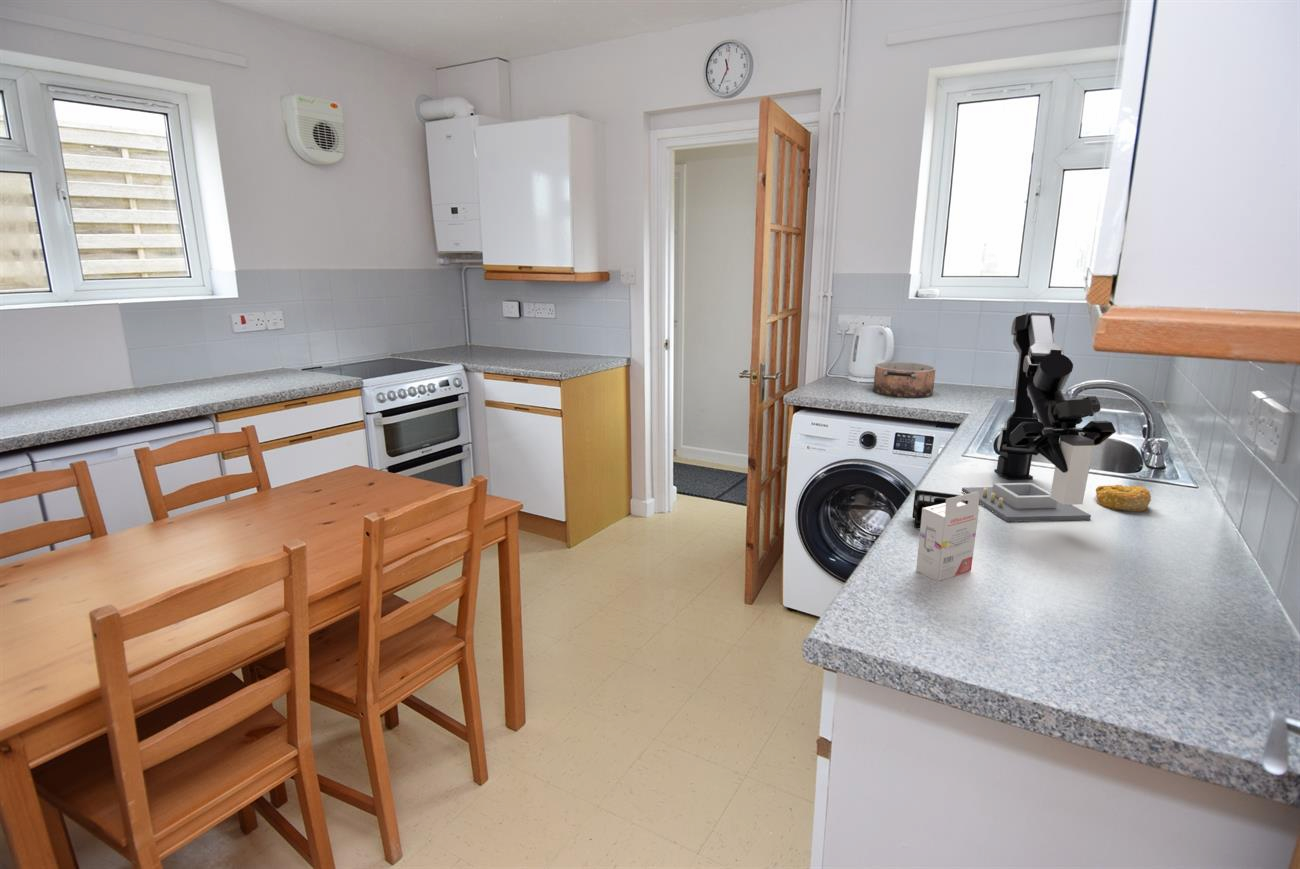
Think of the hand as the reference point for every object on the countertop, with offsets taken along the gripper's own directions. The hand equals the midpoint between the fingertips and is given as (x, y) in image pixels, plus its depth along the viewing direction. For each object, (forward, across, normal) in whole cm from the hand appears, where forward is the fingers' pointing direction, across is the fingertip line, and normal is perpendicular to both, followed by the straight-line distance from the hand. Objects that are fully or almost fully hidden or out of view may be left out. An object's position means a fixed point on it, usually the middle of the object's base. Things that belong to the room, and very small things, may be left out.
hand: (1076, 471), depth 130 cm
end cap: (+6, -24, +12) cm, 28 cm away
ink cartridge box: (+20, -33, -2) cm, 39 cm away
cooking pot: (-88, +27, +107) cm, 141 cm away
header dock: (-1, 0, +19) cm, 19 cm away
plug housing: (+4, 0, +6) cm, 7 cm away
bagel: (-1, +22, +19) cm, 29 cm away
